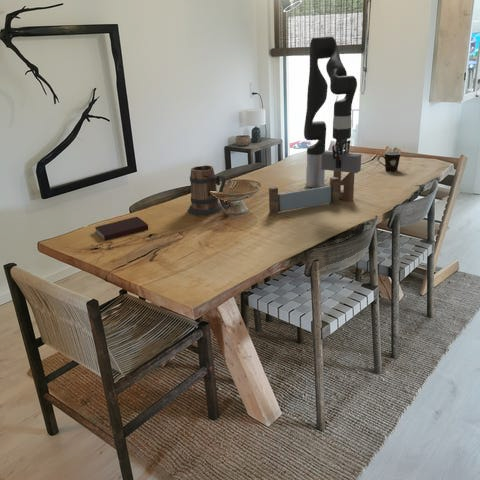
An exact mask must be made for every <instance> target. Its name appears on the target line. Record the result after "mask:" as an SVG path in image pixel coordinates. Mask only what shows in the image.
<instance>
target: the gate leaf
mask: <svg viewBox="0 0 480 480" xmlns="http://www.w3.org/2000/svg"><path fill="white" fill-rule="evenodd" d="M327 204H331V186H330V185H327V186H323V187H317V188H314V187H313V188H308V189H302V190H297V191H295V190H294V191H289V192H284V193H278V213H281V212H285V211H286V212H287V211H293V210H298V209H304V208H309V207H315V206H321V205H327Z"/></svg>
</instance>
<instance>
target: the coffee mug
mask: <svg viewBox="0 0 480 480" xmlns="http://www.w3.org/2000/svg"><path fill="white" fill-rule="evenodd" d="M401 154H402V153H401V152H399V151H386V152H384V155H379V156H378V157H377V161H378V162H379V164H381V165H383V166H384V169H385V172H387V171H391V172H390V173H394V172H393V171H396V172H398V169H399V163H400V158H401ZM381 157H382V158H383V159H384V163H382V162H381V161H380V158H381Z"/></svg>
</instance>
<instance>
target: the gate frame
mask: <svg viewBox="0 0 480 480" xmlns="http://www.w3.org/2000/svg"><path fill="white" fill-rule="evenodd" d="M329 186H331V203H330V204H331V205H336V204H339V200H340V199H339V178H337V177H334V176H332V177H330V178H329ZM278 194H279V188H278V187H277V186H269V187H268V204H269V209H268V210H269V214H270V213H271V214H270V215H272V216H274V214H275V215H279V212H278Z"/></svg>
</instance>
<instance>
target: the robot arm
mask: <svg viewBox="0 0 480 480" xmlns="http://www.w3.org/2000/svg"><path fill="white" fill-rule="evenodd" d="M336 41H337V40H336V39H335V38H334V36H332V35H325V36H324V35H322V36H315V37H314V36H313V37H312V38H311V40H310V42H309V43H310V44H309V72H308V73H309V75H308V83H307V99H306V112H305V120H304V127H303V136H304V137H303V138H304V139H305V140H306V141H317V142H316V143H314V144H313V145H310V146H308V147H307V148H306V169H305V170H306V173H305V174H306V175H305V177H306V181H305V182H306V183H305V184H306V186H307V187H308V188H313V189H314V188H320V187H325V174H326V173H325V171H326V170H322V169H321V167H322V153H324V152H326V139H327V125H326V122H325V121H323V120H322V121H321V120H319V121H314V118H315V116H316V115H317V113H318V111H319V110H321V108H322V107H323V105H324V104H325V102H327V98H328V88H330V92H331V93H332V94H333V95H336V96H337V95H338V96H339V95H345V96H344V98H341V99H338V100H336V101H335V102H334V105H333V118H332V119H333V120H332V138H333V139H335V145H332V146H331V149H332V152H333V159H336V168H339V169H340V168H341V158H342V154H343V153H350V147H351V140H348V139H351V138H352V105H353V100H354V97H355V93H356V91H357V88H358V81H357V78H356V76H354V75H348V73H347V70H346V67H345V66H344V64H343V63H342V60H341V57H340V51H339V48H338V45H337V42H336ZM322 59H328V61H327V62H326V66H325V69H326V70H325V71H326V73H327V76H328V77H329V80H330V85H329V86H328V83H327V80H326V78H325V77H324V75H323V74H322V72H321V70H320V67H319V63H318V62H319V60H322Z"/></svg>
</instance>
